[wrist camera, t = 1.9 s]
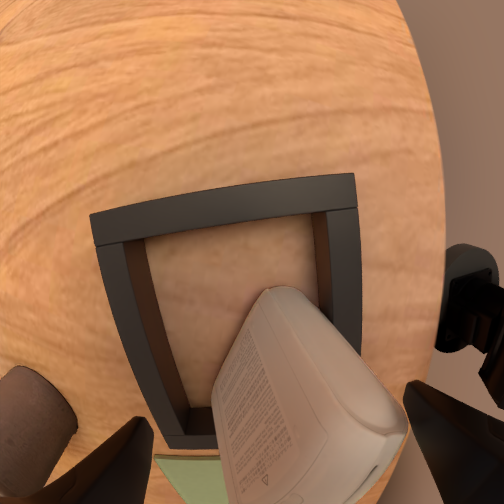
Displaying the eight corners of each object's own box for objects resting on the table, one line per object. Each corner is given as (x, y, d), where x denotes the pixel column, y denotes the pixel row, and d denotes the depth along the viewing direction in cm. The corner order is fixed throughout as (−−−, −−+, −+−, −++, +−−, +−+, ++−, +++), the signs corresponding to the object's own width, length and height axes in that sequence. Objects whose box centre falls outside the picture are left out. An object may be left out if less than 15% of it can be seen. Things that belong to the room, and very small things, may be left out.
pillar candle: (93, 438, 20) (45, 542, 6) (39, 428, 21) (-11, 505, 6) (46, 364, 18) (-43, 467, 4) (-3, 363, 19) (-75, 434, 4)
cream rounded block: (254, 405, 20) (303, 543, 8) (202, 396, 18) (228, 552, 7) (319, 294, 18) (451, 431, 6) (261, 274, 16) (380, 450, 5)
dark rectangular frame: (334, 175, 16) (354, 172, 13) (342, 402, 20) (354, 427, 17) (113, 210, 16) (88, 214, 13) (176, 422, 20) (169, 449, 17)
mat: (339, 438, 21) (341, 442, 20) (331, 495, 24) (332, 498, 23) (154, 454, 21) (153, 458, 20) (193, 508, 24) (192, 511, 23)
